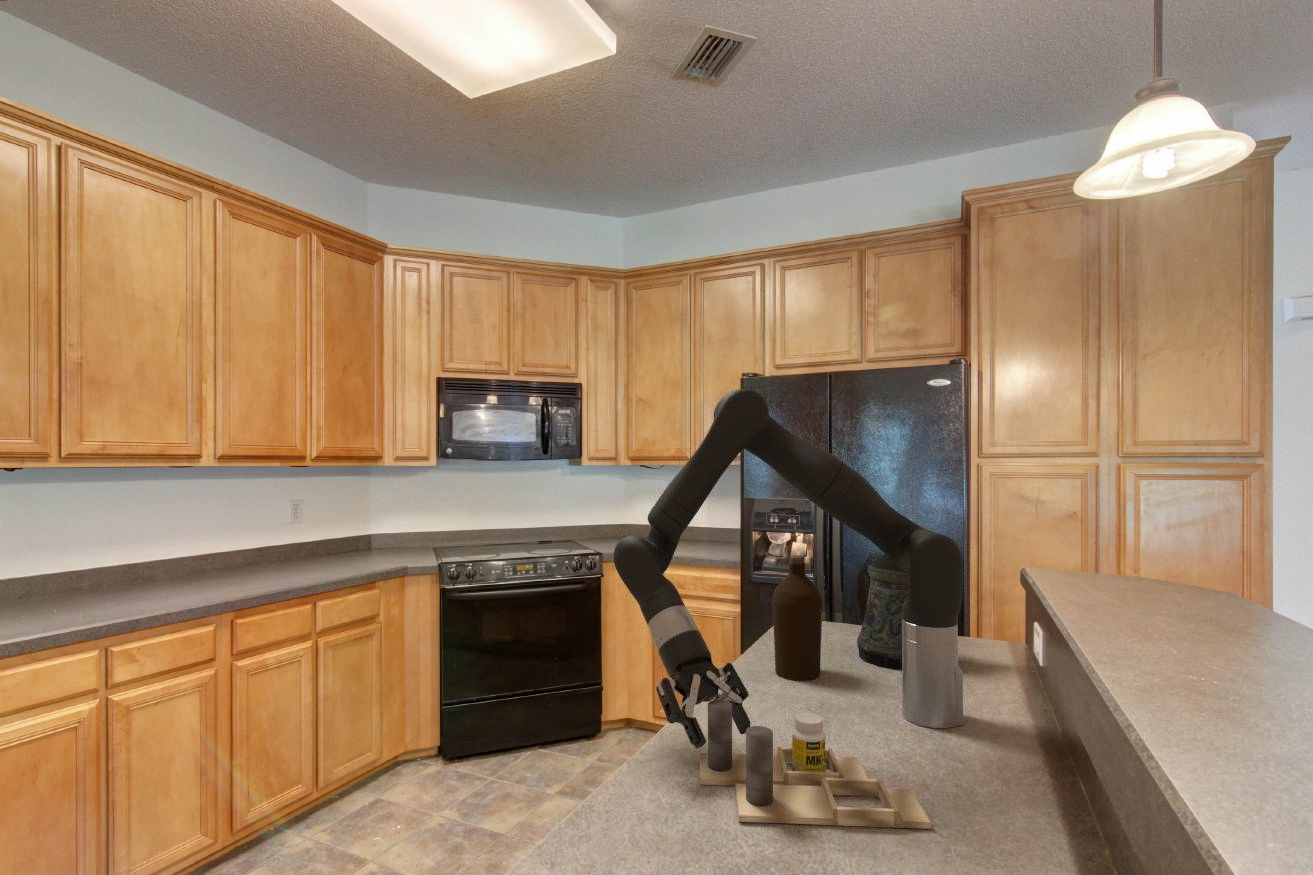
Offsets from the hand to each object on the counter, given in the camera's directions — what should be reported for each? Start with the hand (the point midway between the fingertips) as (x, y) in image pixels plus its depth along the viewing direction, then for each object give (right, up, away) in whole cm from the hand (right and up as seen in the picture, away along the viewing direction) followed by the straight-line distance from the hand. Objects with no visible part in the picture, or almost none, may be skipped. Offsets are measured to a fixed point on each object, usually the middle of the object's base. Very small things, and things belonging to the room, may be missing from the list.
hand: (724, 738), depth 96 cm
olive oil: (+20, -6, +43) cm, 48 cm away
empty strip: (+13, -5, -9) cm, 17 cm away
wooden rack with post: (+8, -5, 0) cm, 10 cm away
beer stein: (+46, -7, +54) cm, 71 cm away
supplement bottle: (+12, -6, 0) cm, 14 cm away
